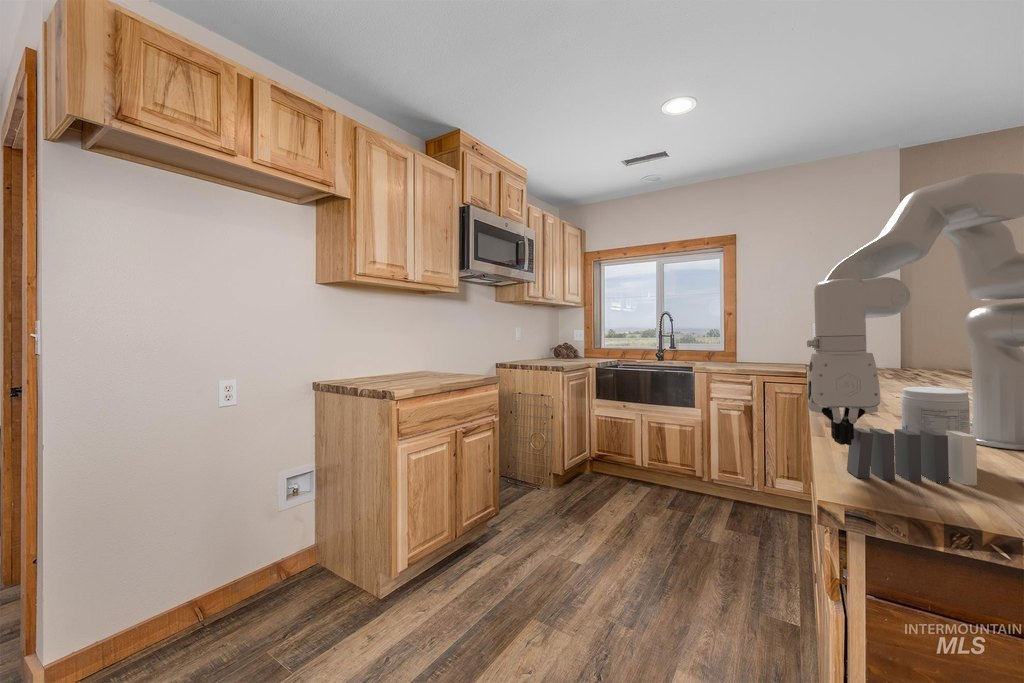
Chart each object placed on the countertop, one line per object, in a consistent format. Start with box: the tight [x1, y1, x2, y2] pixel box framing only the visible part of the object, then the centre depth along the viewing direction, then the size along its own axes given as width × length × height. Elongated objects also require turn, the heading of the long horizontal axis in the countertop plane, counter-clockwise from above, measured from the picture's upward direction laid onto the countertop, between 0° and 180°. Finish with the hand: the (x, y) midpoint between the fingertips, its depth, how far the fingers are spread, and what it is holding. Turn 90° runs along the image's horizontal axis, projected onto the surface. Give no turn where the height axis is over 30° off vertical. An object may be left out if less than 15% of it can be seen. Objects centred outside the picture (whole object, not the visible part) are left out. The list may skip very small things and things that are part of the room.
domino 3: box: [893, 428, 922, 483], centre depth 76 cm, size 4×2×8 cm, turn 163°
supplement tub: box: [901, 386, 971, 435], centre depth 84 cm, size 10×10×15 cm
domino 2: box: [869, 428, 896, 482], centre depth 77 cm, size 4×2×8 cm, turn 163°
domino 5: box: [946, 431, 978, 486], centre depth 74 cm, size 4×2×8 cm, turn 163°
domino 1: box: [846, 427, 873, 480], centre depth 78 cm, size 4×2×8 cm, turn 163°
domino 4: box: [920, 430, 950, 484], centre depth 75 cm, size 4×2×8 cm, turn 163°
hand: (842, 442), depth 79 cm, fingers closed
